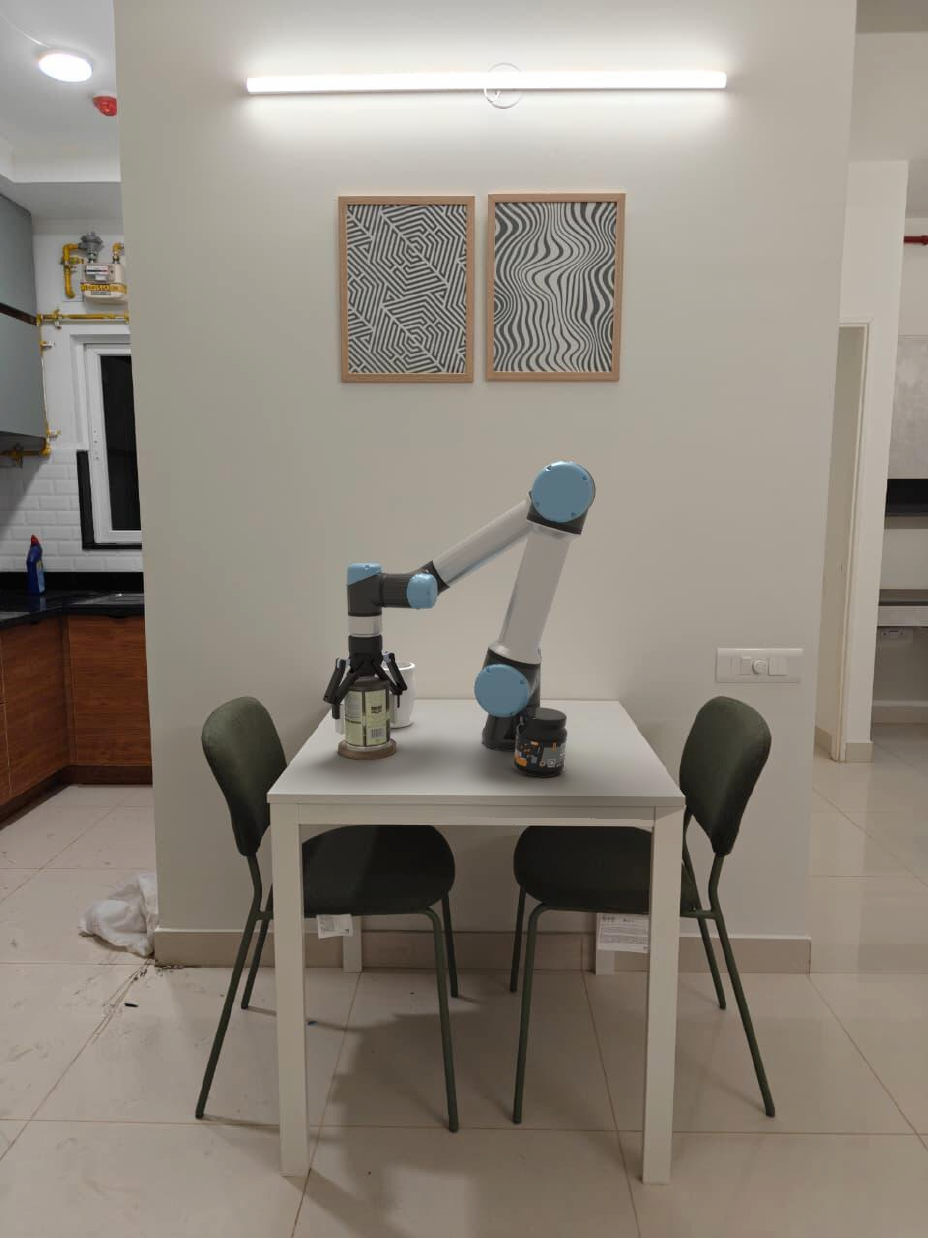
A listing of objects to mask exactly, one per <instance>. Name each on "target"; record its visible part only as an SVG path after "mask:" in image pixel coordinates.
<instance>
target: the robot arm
mask: <svg viewBox="0 0 928 1238" xmlns="http://www.w3.org/2000/svg"><path fill="white" fill-rule="evenodd" d="M596 491H597V489H596V484H595V480H594V478H593V477H592V475H591V473H590V472H589V471H588V470H587V469H586V468H584V467H583V466H581V465H580V464H578V463H575V462H573V461H566V460H562V461H561V460H559V461H554V462H552V463H550V464H549V465H546V466H545V467H544V468H542V469H541V470H540V471H539V472H538V473H537V475H536V477H534V480H533V482H532V486H531V490H529V491H528V492H527V493H526V497H525V499H524V500H522V501H521V502H519V503H518V504H516V505H515V506H513V507H512V508H510V509H509V510H507V511H506V512H504V513H502V514H501V515H499V516H498V517H496V518H494V519H493V520H491V522H489V523H487V524H485V525H484V526H483V527H481V528H479V529H478V530H476V531H475V532H473V533H472V534H470V535H469V536H467V537H465V538H464V539H462V540H461V541H459V542H458V543H456V544H455V545H454V546H453V545H452V547H450V548H449V549H447V550H446V551H444V552H442V553H441V554H440V555H438V556H436V557H435V558H433V559H431V560H430V561H429V562H426V563H425V564H423V565H422V566H420V567H419V568H417V569H415V570H412V571H409V572H406V573H390V572H389V573H388V572H387V573H386V572H383V570H382V566H381V564H379V563H376V562H375V563H374V562H360V563H352V564H350V565H348V567H347V569H346V570H347V571H346V572H347V573H346V584H345V586H346V597H347V599H346V600H347V603H346V604H347V633H349V635H348V636H347V643H348V644H347V648H348V649H347V650H348V658H343V659H342V658H340V657H337V658H336V659H335V666H334V670H333V673H332V675H331V678H330V680H329V683H328V685H327V688H326V690H325V692H324V695H323V697H322V701H323V702H325V703H327V704H329V705H331V717H332V719H333V720H334V721H335V722H334V723H335V733H337V734H339V735H345V711H344V703H342V702H344V698H345V696H346V695H347V693H348V691H349V690H350V689H349V686H352V685H353V684H354V682H355V681H356V680H358V678H359V677H360V676H361V677H365V676H368V675H371V676H372V675H374V674H376V675H377V676H378V677H379V678H380V679H382V680H389V681H390V685H389V690H390V691H391V692H392V694H391V693H390V694H389V700H390V722H391V723H393V724H397V708H399V707H400V695H402V694H403V691H406V690H407V685H406V683H405V681H404V679H403V677H402V675H401V673H400V670H399V668H398V666H397V664H396V662H395V661H396V656H395V652H391V651H388V650H386V651H385V652H384V653H383V652H382V651H383V649H384V647H383V645H384V644H383V641H384V640H383V639H384V638H383V634H382V632H383V631H384V630H383V629H384V628H383V608H385V609H388V608H389V609H390V608H391V609H393V608H394V609H415V610H416V611H417V610H418V611H419V610H422V609H423V610H424V609H425V610H426V609H429V610H430V609H432V608H433V607H435V605H436V602H437V601H438V600H437V598H438V597H440V595H441V594H442V593H444V592H446V591H447V590H449V589H450V588H452V587H453V586H454V585H457V584H458V583H460V582H461V581H462V580H464V579H466V578H467V577H469V576H470V575H472V574H474V573H475V572H477V571H478V570H480V569H482V568H483V567H485V566H487V565H488V564H489V563H492V562H493V561H494V560H496V559H498V558H499V557H501V556H502V555H504V554H505V553H507V552H509V551H510V550H512V549H514V548H515V547H516V546H518V545H520V544H521V543H523V542H524V541H526V544H525V548H524V551H523V554H522V557H521V560H520V564H519V566H518V567H519V568H518V571H517V575H516V578H515V582H514V584H513V588H512V592H511V594H510V597H509V601H508V605H507V608H506V612H505V615H504V619H503V621H502V625H501V629H500V632H499V635H498V638H497V639H496V640H494V641H492V642H490V644H489V645H488V647H487V651H486V654H485V657H484V660H483V664H482V668H481V670H480V671H479V673H478V674H477V676H476V677H475V680H474V685H473V689H474V690H473V691H474V697H475V699H476V702H477V704H478V705H479V706H480V707H481V708H482V710H483V711H484V712H486V713H487V718H486V720H485V721H486V722H485V724H484V727H483V730H482V733H481V741H482V743H483V745H485V746H486V747H490V748H492V749H496V750H501V751H507V752H508V751H509V752H515V744H516V734H517V731H516V728H517V725H518V724H519V723H520V712H521V710H523V709H525V708H530V707H541V682H542V681H541V676H542V675H541V671H542V668H541V665H542V661H543V659H542V658H543V657H542V652H541V651H542V649H541V647H540V643H541V640H542V636H543V634H544V630H545V626H546V624H547V621H548V620H547V619H548V617H549V614H550V611H551V607H552V604H553V601H554V598H555V595H556V591H557V588H558V584H559V583H560V579H561V578H560V577H561V575H562V571H563V568H564V566H565V562H566V558H567V555H568V552H569V549H570V545H571V542H573V540H577V539H578V538H579V537H581V535H582V532H583V528H584V525H585V522H586V520H587V516H588V514H589V509H590V508H591V507H592V505H593V504H594V500H595V498H596V493H597V492H596ZM383 662H386V665H387V667H388V669H389V671H390V673H391V675H392V677H393V679H394V681H395V683H396V684H395V683H394V682H393V681H392V680H391V679H390V677H389V676H388V675H387V674H386V673H385V671H384V669H383V668H382V667H381V666H380V665H381V664H382V663H383ZM348 666H349V670H347V672H346V669H348ZM345 672H346V675H345ZM354 673H355V674H354ZM344 676H345V677H344Z"/></svg>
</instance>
